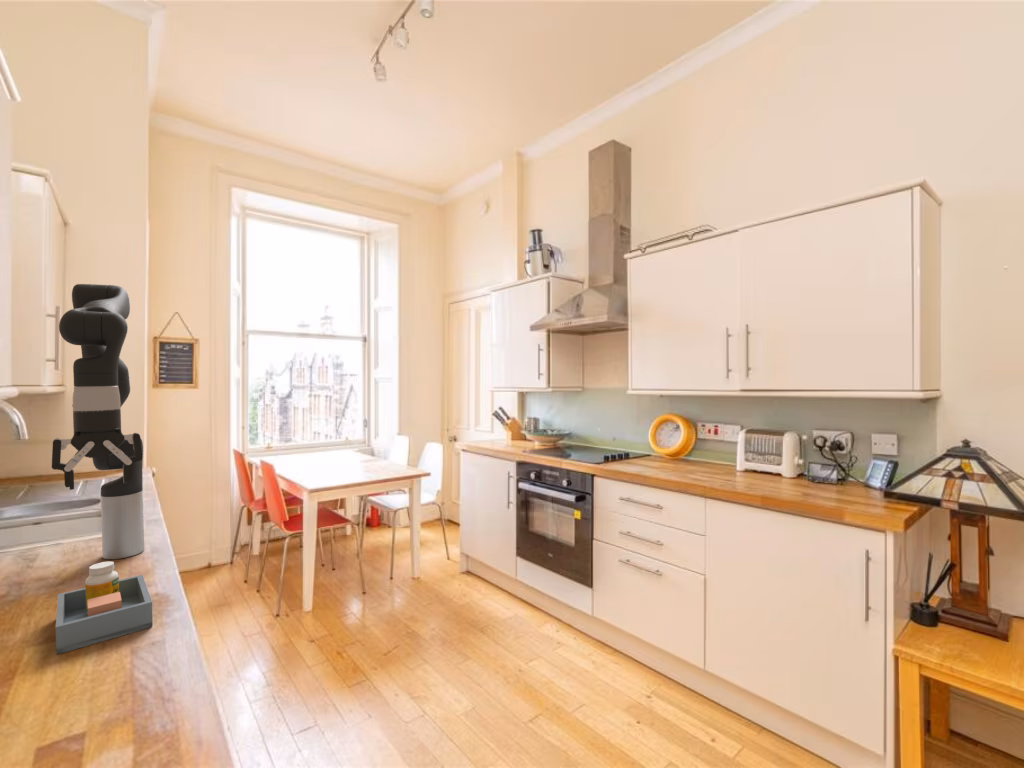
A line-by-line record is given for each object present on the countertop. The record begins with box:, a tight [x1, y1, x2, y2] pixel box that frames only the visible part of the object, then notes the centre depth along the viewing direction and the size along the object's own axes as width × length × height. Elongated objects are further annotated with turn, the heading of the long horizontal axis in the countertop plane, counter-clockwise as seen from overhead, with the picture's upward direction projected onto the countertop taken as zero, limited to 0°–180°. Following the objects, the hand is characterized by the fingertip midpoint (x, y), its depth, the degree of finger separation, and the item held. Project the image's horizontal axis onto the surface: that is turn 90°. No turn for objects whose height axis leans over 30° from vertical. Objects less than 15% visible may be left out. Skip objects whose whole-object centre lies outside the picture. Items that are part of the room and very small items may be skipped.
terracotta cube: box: [87, 592, 122, 617], centre depth 95 cm, size 5×5×5 cm
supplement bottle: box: [84, 561, 120, 614], centre depth 101 cm, size 5×5×10 cm
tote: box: [55, 574, 153, 656], centre depth 98 cm, size 18×14×5 cm
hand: (99, 485), depth 101 cm, fingers open, 8 cm apart
